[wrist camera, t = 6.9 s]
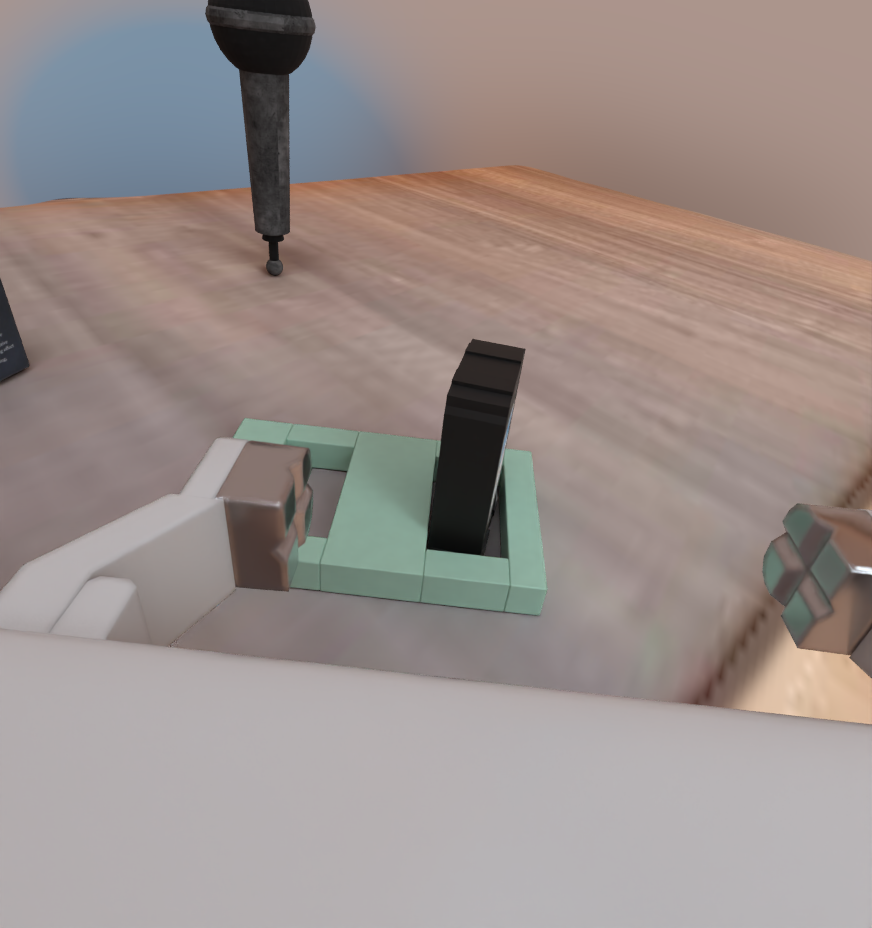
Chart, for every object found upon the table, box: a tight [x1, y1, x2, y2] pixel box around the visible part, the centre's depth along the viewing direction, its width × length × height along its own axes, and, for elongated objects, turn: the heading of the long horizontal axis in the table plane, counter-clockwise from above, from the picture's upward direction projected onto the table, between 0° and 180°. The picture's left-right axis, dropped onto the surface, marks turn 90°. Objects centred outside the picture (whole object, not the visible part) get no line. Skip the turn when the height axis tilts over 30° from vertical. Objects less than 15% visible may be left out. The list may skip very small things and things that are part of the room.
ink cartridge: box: [427, 339, 525, 556], centre depth 25 cm, size 5×2×8 cm, turn 166°
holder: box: [233, 418, 547, 615], centre depth 26 cm, size 14×9×2 cm, turn 86°
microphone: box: [205, 0, 315, 275], centre depth 44 cm, size 7×7×20 cm
